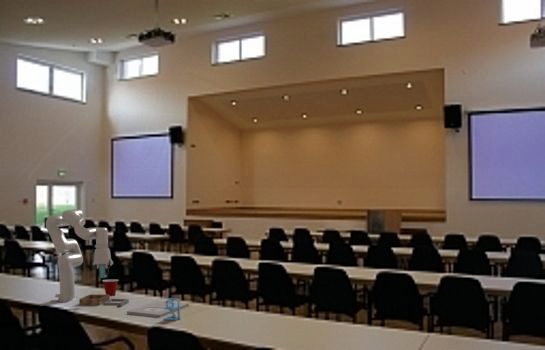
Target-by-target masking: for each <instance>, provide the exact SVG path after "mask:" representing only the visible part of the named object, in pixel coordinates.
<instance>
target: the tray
mask: <svg viewBox="0 0 545 350" xmlns="http://www.w3.org/2000/svg"><path fill="white" fill-rule="evenodd" d="M129 301H130V299H129V298H110V300H108V301H106V302H104V303H103V304H102V305H103V306H116V307H117V308H122V307H123V306H125V305H127V304H128V303H130V302H129Z"/></svg>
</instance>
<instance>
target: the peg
mask: <svg viewBox="0 0 545 350" xmlns="http://www.w3.org/2000/svg"><path fill="white" fill-rule="evenodd" d="M99 269H100V275H99V279H105V278H108V274H107V275H106V274H105V269H106V266H105V264H99Z"/></svg>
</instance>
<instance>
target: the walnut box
mask: <svg viewBox="0 0 545 350" xmlns="http://www.w3.org/2000/svg"><path fill="white" fill-rule="evenodd" d="M110 299H111V296H110V295H106V294H100V293H99V294H97V293H96V294H87V295H85V296H83V297H81V298H79V306H101V305H103V303H104V302H106V301H108V300H110Z"/></svg>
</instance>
